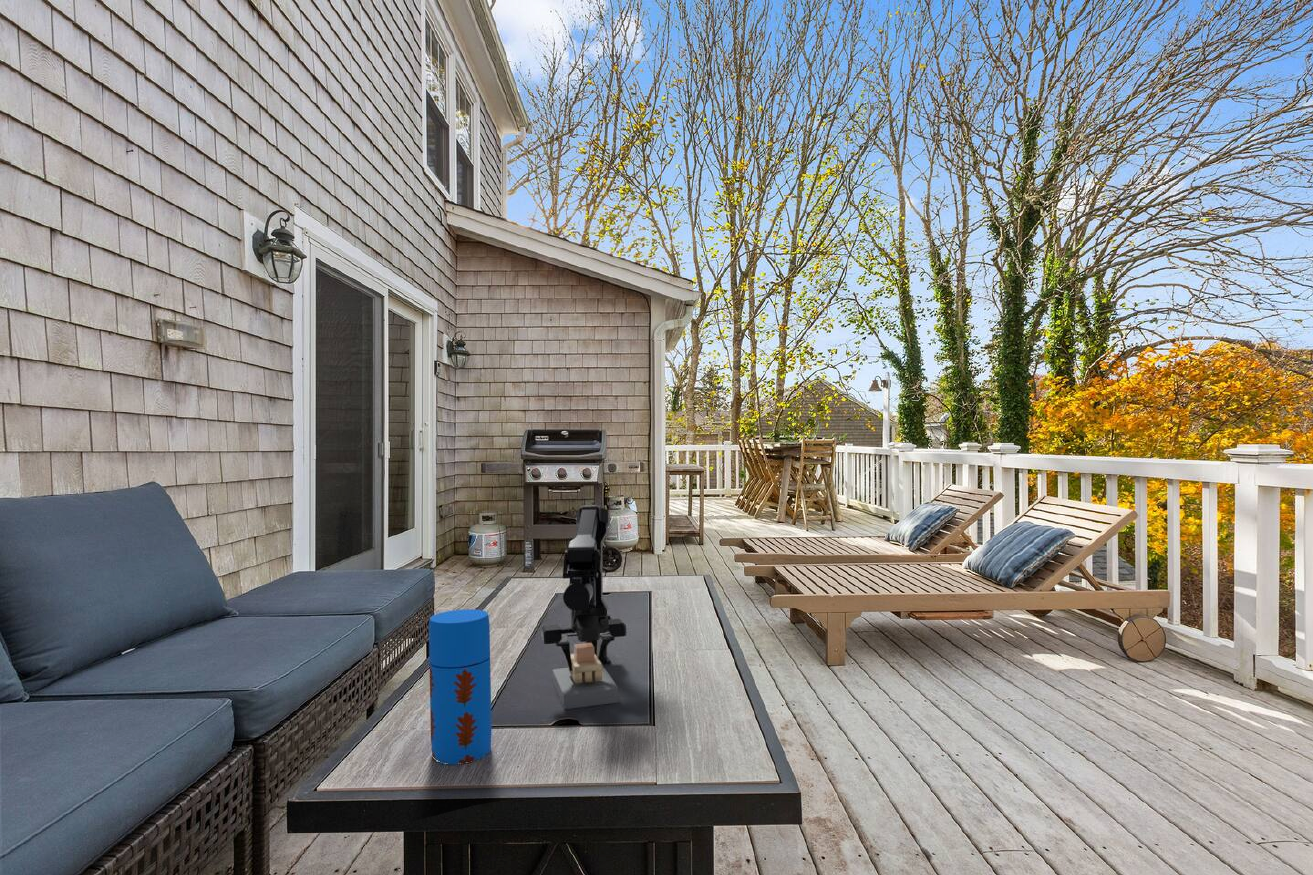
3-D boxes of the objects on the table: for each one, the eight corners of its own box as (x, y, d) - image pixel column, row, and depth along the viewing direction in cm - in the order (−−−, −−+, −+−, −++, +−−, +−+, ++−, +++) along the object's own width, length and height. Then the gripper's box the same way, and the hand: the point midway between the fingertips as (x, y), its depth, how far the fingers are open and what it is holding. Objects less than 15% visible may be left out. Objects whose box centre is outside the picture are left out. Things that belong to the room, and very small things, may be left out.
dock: (552, 682, 162) (552, 669, 162) (602, 676, 165) (601, 663, 165) (563, 709, 145) (563, 695, 145) (618, 702, 148) (618, 688, 148)
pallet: (568, 669, 158) (567, 654, 158) (593, 666, 160) (593, 651, 160) (575, 683, 148) (574, 667, 148) (602, 679, 150) (601, 664, 150)
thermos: (436, 770, 118) (433, 626, 118) (426, 747, 128) (424, 613, 128) (498, 756, 123) (495, 618, 123) (484, 734, 133) (482, 606, 133)
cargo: (574, 657, 155) (573, 644, 155) (591, 655, 157) (591, 642, 157) (577, 662, 152) (576, 649, 152) (594, 660, 153) (594, 647, 153)
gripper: (546, 611, 144) (547, 685, 144) (631, 604, 149) (633, 675, 149) (540, 600, 155) (541, 669, 154) (619, 593, 160) (621, 660, 160)
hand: (584, 668), depth 154 cm, fingers closed on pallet, 6 cm apart
